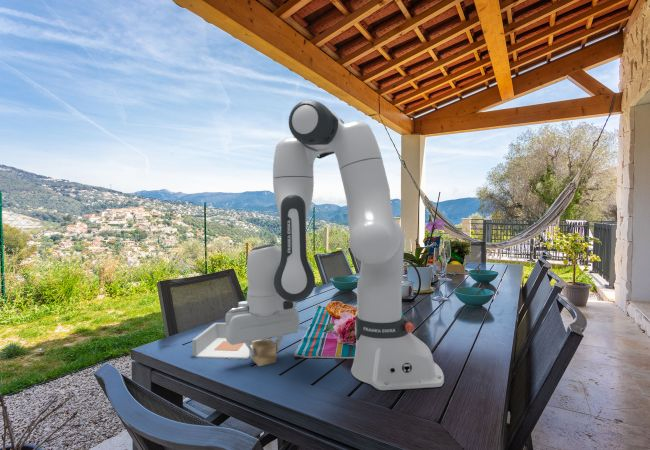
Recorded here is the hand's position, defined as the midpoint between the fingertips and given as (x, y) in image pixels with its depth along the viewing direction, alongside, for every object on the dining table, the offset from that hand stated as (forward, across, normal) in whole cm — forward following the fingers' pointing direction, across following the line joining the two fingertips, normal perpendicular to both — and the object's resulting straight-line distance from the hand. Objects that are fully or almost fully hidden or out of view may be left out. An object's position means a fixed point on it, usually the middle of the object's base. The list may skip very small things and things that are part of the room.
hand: (264, 353), depth 96 cm
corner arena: (+2, -6, +15) cm, 16 cm away
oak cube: (+2, 0, 0) cm, 2 cm away
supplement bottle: (+2, +3, +29) cm, 30 cm away
